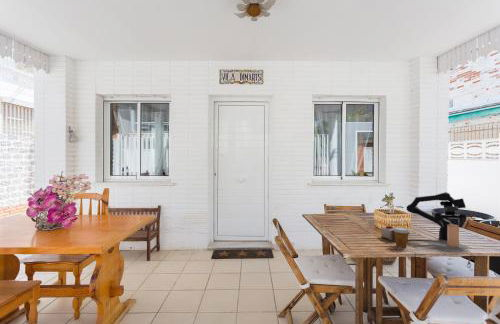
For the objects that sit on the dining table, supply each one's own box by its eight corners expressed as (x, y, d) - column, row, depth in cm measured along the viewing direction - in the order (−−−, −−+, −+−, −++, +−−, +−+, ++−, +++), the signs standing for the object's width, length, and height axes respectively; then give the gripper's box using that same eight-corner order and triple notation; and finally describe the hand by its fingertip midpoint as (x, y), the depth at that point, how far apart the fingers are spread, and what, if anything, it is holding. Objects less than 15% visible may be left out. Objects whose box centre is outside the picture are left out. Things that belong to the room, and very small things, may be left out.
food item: (379, 236, 225) (379, 224, 225) (388, 236, 227) (388, 223, 226) (391, 241, 212) (391, 228, 211) (400, 241, 213) (401, 227, 213)
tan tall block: (447, 243, 204) (447, 224, 204) (456, 244, 202) (457, 224, 202) (448, 246, 199) (449, 225, 199) (458, 247, 197) (458, 226, 197)
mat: (440, 249, 192) (440, 249, 192) (423, 242, 209) (423, 241, 209) (472, 249, 194) (472, 248, 194) (452, 242, 211) (452, 241, 211)
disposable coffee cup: (412, 247, 198) (412, 229, 198) (401, 248, 195) (401, 230, 195) (401, 243, 207) (401, 226, 207) (390, 244, 204) (390, 227, 204)
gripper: (434, 201, 213) (436, 219, 203) (465, 202, 205) (469, 221, 195) (433, 210, 220) (435, 228, 210) (463, 211, 212) (467, 230, 202)
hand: (451, 226), depth 204 cm, fingers open, 9 cm apart
